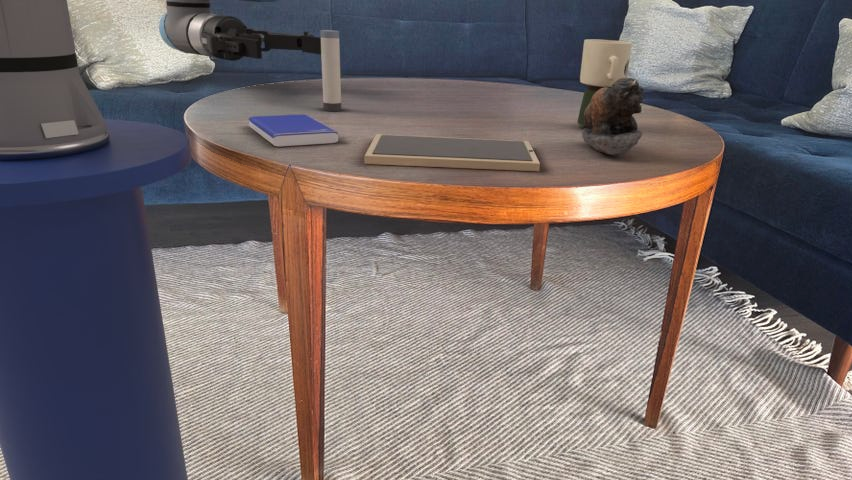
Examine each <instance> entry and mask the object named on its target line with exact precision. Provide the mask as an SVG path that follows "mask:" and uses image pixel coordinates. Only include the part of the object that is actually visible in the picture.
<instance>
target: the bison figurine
mask: <svg viewBox="0 0 852 480" xmlns="http://www.w3.org/2000/svg"><path fill="white" fill-rule="evenodd" d="M643 92H644V87H642V86H640V83H639V81H638V80H637V79H635V78H632V77H627V78H620V79H618V80H617V81H616V82H614V83H613V84H612V86H611V88H607V87H604V88H601V89H600V90H598V91H597V92H596V93H595V94H594V95H593V96H592V99H591V101H590V103H589V105H588V107H587V108H586V109H585V112H584V124H585V125H584V126H585V127H584V128H583V129H581V136H582V137H581V138H582V139H583V141H584V143H586V144H587V145H589V146H590V147H592V148H593V149H594V150H595V151H597V152H600V153H603V154H606V155H609V156H619V155H623V154H625V153H627V152H628V151H630V150H631V149H632V148H633V147H634V146H636V145H638V143H639V141H640V139H641V138H642V136H643V132H642V131H641V130H638V127H639V125H638V122H637V120H636V118H635V117H634V116H633V115H635V114H641V113H642V105H641V103H642V102H643V101H644V97H643Z"/></svg>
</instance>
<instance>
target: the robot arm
mask: <svg viewBox="0 0 852 480" xmlns="http://www.w3.org/2000/svg"><path fill="white" fill-rule="evenodd" d="M240 1H241V2H242V1H243V2H253V3H276V2H279V1H280V0H240ZM165 4H166V5H165V8H166V12H164V13H163V15H161V18H160V20H159V24H158V31H159V34H160V37H161V39H162V41H163V42H164V43H165V44H166V45H167V46H168V47H169V48H171V49H173V50H176V51H179V52H181V53H184V54H191V55H198V56H205V57H210V58H211V60H212V61H217V60H218V59H220V60H225V61H232V62H235V61H239V60H241V59H243V58H246V57H247V58H251V59H256V60H260V59H261V60H262V59H263V54H262V52H270V51H271V50H284V51H285V50H288V51H301V52H302V53H308V54H315V55H320V56H321V36H320V37H319V36H315V35H314V34H309V31H307V30H306V31H303V34H298V33H297V34H296V33H282V32H271V31H270V30H262V29H261V30H260V29H254V28H251V27H247V25H246V24H245V22H243V21H242V20H240V18H237V17H235V16H233V15H232V16H231V15H223V14H216V13H211V2H210V0H165ZM69 11H70V10H69V5H68V0H0V161H31V160H44V159H53V158H61V157H68V156H74V155H79V154H84V153H88V152H92V151H95V150H98V149H101V148H103V147H105V146H107V145H108V144H109V143H110V138H109V132H108V128H107V125H106V122H105V120H104V119H105V118H104V117H103V114H102V113H101V111H100V109H99V107H98V106H97V104H96V102H95V100H94V98H93V96H92V94H91V93H90V91H89V89H88V87H87V85H86V83H85V81H84V79H83V77H82V76H81V73H80V69H79V64H78V59H77V52H76V47H75V41H74V36H73V35H74V34H73V29H72V23H71V16H70V12H69ZM262 35H263V36H262ZM263 43H264V47H262V45H263Z"/></svg>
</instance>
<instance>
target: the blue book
mask: <svg viewBox="0 0 852 480" xmlns="http://www.w3.org/2000/svg"><path fill="white" fill-rule="evenodd" d="M248 127H249V128H251V129H252V130H253V131H254V132H256V133H257V134H258V135H260V136H261V137H262V138H263V139H265V140H266V141H268V142H269V143H270V144H271V145H273V146H274V147H293V146H295V147H296V146H307V145H322V144H323V145H324V144H335V143H338V142H339V134H338V133H339V132H338V131H337V130H336V129H333V128H331V127H330V126H328V125H326V124H323V123H322V122H321V121H318V120H316V119H314V118H313V117H311V116H309V115H307V114H282V115H281V114H280V115H278V114H277V115H258V116H250V117H248Z"/></svg>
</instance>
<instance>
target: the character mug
mask: <svg viewBox="0 0 852 480" xmlns="http://www.w3.org/2000/svg"><path fill="white" fill-rule="evenodd" d="M632 44H633V43H632V42H629V41H623V40H611V39H598V38H596V39H595V38H593V39H592V38H590V39H589V38H587V39H584V41H583V48H582V56H581V64H580V65H581V66H580V75H579V82H580V83H581V84H583V85H586V86H588V88H586V90H585V91H584V93H583V96H582V100H581V104H580V108H579V112H578V116H577V121H576V123H577V124H578V125H580V126H586V125H585V124H584V112H585V109H586V108H587V107H588V105H589V103H590V101H591V99H592V96H593V95H594V94H595V93H596V92H597V91H598V90H600V89H601V88H604V87H607V88H611V86H612V84H613V83H614V82H616V81H617V80H618V79H620V78H628V72H629V65H630V60H631V51H632Z"/></svg>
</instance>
